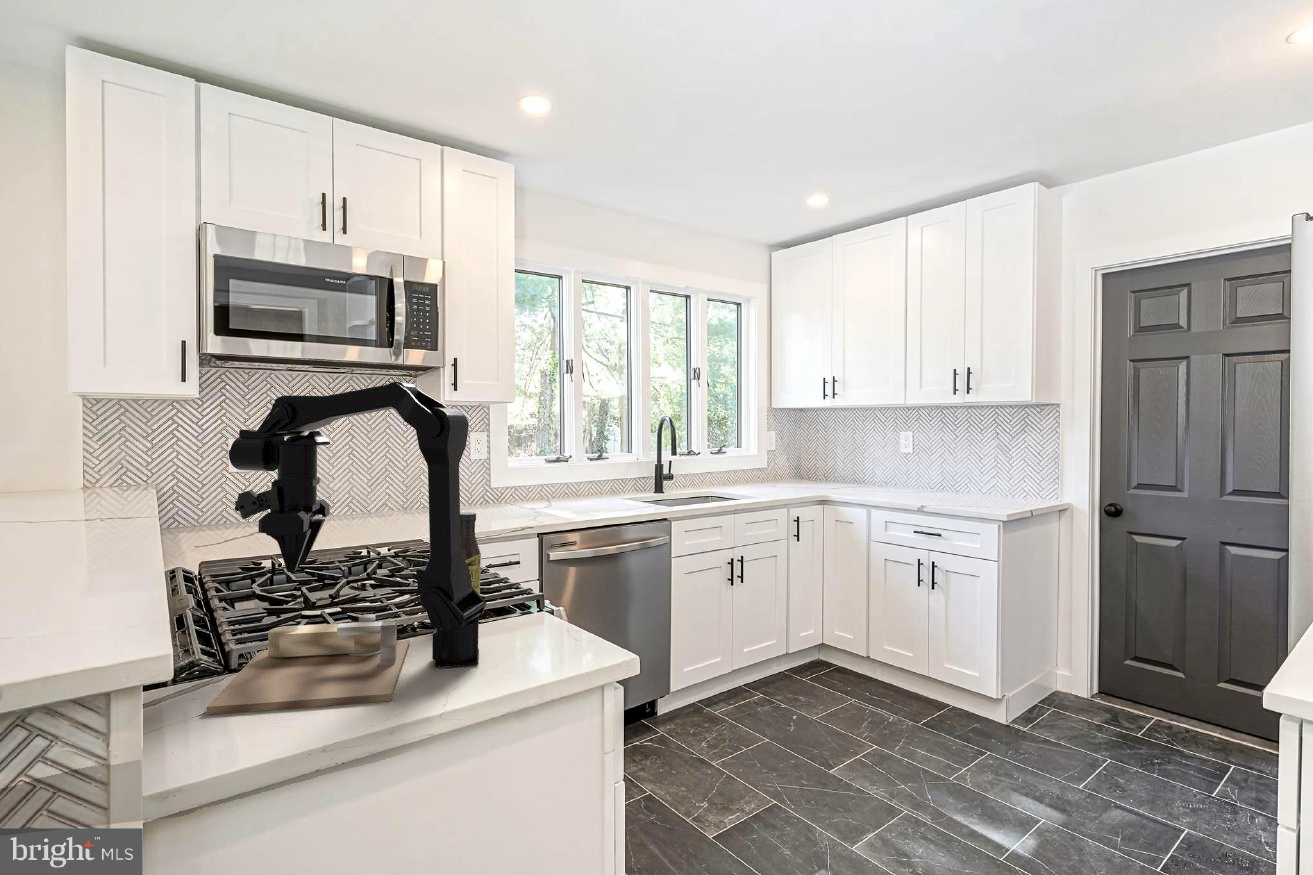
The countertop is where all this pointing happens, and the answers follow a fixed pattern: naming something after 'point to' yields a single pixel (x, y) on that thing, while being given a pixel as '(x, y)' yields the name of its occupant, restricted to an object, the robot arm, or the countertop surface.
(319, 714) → the countertop surface
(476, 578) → the sauce bottle
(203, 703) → the countertop surface
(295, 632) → the oak link
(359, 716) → the countertop surface
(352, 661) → the base
